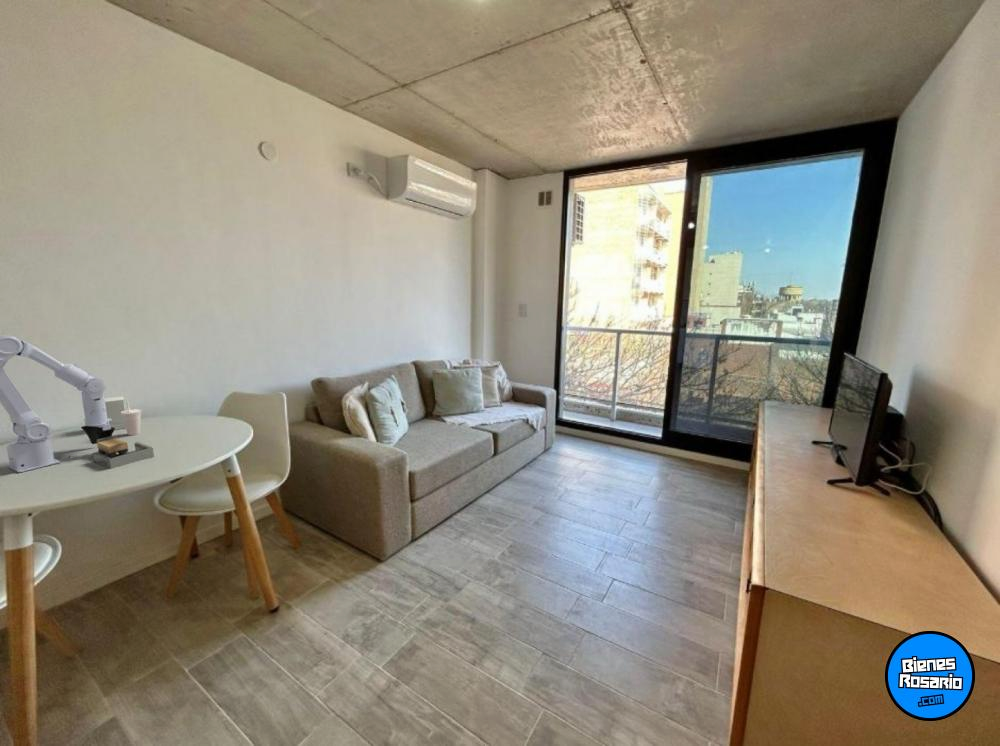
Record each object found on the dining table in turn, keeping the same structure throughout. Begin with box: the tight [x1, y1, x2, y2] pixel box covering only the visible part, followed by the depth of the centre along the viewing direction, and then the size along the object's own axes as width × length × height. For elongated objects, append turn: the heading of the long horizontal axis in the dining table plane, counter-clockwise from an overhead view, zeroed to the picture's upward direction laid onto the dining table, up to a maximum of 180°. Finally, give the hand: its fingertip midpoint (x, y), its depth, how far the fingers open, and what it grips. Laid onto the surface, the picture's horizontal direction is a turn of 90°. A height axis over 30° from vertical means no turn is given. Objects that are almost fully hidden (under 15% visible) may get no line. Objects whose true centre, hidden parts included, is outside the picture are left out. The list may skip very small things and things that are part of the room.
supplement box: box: [104, 396, 126, 431], centre depth 171 cm, size 7×7×13 cm
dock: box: [92, 441, 155, 469], centre depth 142 cm, size 12×11×3 cm
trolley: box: [96, 435, 129, 458], centre depth 145 cm, size 6×8×6 cm
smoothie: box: [121, 400, 142, 436], centre depth 165 cm, size 6×6×14 cm
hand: (100, 445), depth 149 cm, fingers open, 7 cm apart
